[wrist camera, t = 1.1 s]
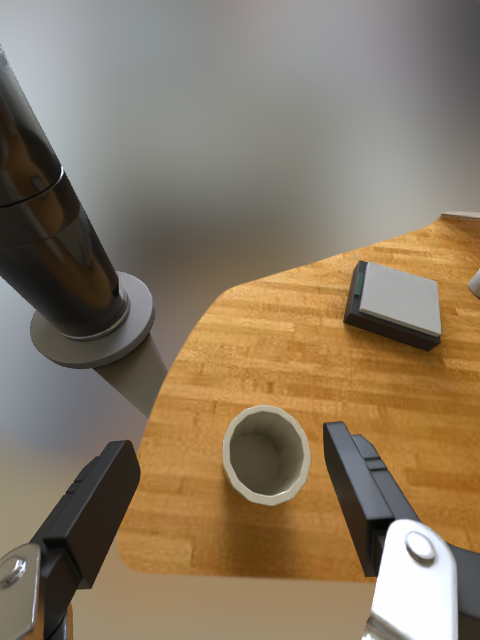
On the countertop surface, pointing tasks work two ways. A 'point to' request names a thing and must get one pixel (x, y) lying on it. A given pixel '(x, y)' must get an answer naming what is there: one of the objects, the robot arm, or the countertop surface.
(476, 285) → the house plant
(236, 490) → the tumbler
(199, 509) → the countertop surface
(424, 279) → the scale
